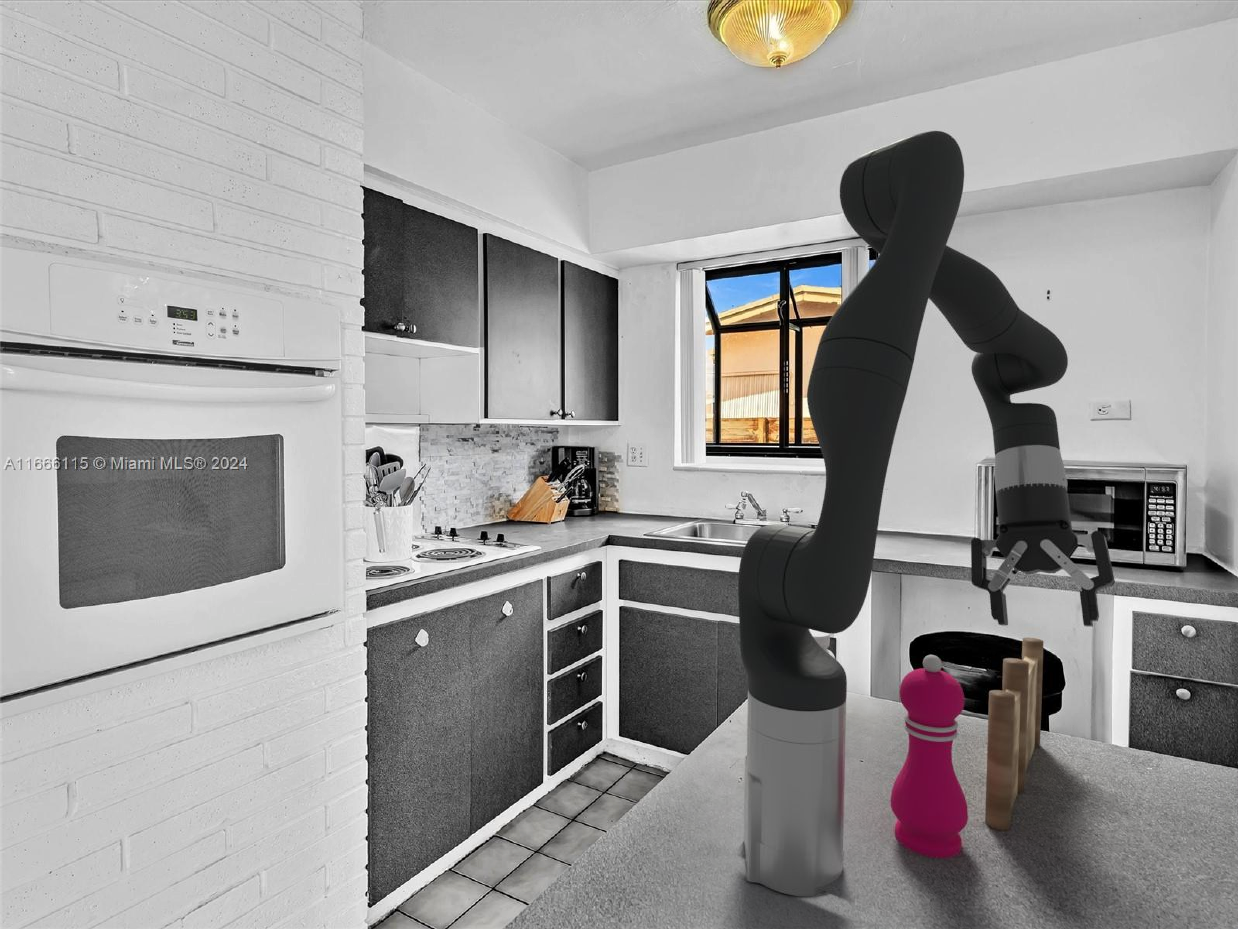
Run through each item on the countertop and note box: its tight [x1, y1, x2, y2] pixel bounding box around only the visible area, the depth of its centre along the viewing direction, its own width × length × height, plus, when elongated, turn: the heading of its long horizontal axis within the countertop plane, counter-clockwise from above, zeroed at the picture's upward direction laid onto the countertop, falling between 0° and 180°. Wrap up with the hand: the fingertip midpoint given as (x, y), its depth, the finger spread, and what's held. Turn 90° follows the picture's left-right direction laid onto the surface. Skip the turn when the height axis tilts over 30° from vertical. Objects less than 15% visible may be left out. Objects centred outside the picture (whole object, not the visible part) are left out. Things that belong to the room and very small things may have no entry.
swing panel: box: [1021, 637, 1044, 773], centre depth 90 cm, size 14×2×14 cm, turn 143°
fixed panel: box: [984, 657, 1029, 832], centre depth 79 cm, size 12×3×15 cm, turn 143°
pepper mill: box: [890, 654, 969, 859], centre depth 72 cm, size 7×7×20 cm
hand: (1044, 625), depth 82 cm, fingers open, 8 cm apart
